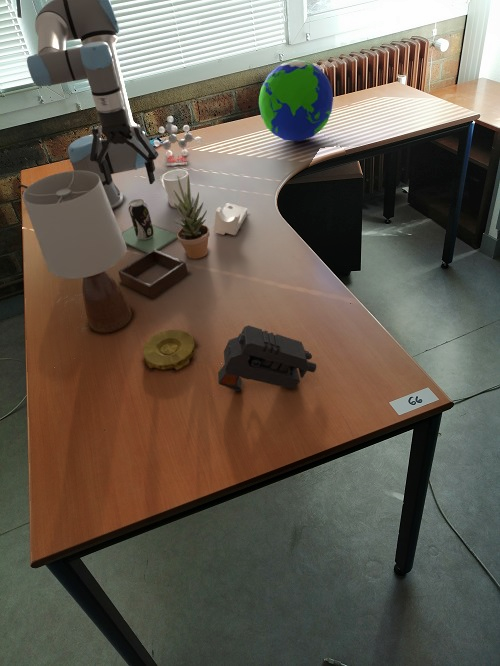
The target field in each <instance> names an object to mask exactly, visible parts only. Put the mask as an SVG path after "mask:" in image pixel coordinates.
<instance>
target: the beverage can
mask: <svg viewBox="0 0 500 666" xmlns="http://www.w3.org/2000/svg"><path fill="white" fill-rule="evenodd" d="M128 213H129V216H130V219H131V222H132V227H134V229H135V233H136V236H137V238H138V239H141V240H147V239H150V238H151V237H152V236H153V235H154V230H153V226H154V225H153V223H152V219H151V214H150V211H149V207H148V204H147V203H146V202H145V200H144V199H142V198H138V199H133V200H131V201H130V202H129V206H128Z"/></svg>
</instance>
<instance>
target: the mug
mask: <svg viewBox="0 0 500 666" xmlns="http://www.w3.org/2000/svg"><path fill="white" fill-rule="evenodd" d="M188 175H189V173H188V171H187V170H186V169H180V168H179V169H178V168H177V169H171V170H168V171H166V172H165V173H164V174H161V175H160V176H159V181H160V184H161V187H162V189H163V191H164V193H165V194H166V195H167V199H168V203H169V206H170V207H171V208H175V209H177V208H176V206H175V205H174V203H175V204H176V205H177V206H178V205H179V204H180V203H179V201H178V199H177V197H176V195H175V193H174V190H175V192H176V193H177V195H178V196H179V198H180V199H181V200H182V202H183V203H184V201H183V197H182V194H181V190H180V187H179V182H178V176H179V180H180V183H181V186H182V190H183V193H184V196H185V193H186V194H187V182H188ZM190 192H191V193H192V190H191V189H190ZM191 201H192V202H193V197H192V196H191ZM179 207H180V206H179Z"/></svg>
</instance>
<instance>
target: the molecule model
mask: <svg viewBox="0 0 500 666" xmlns="http://www.w3.org/2000/svg"><path fill="white" fill-rule="evenodd" d="M166 120H167V122H168V123H166V125H165V127H164V126H159V127H158V132H159V133H160V134H164V133H165V132H167V133H170V134H169V135H168V140H164V141H163V142H160V141H159V140H158V139H155V140H154V141H153V146H154V147H157V148H158V147H159V146H160V145H161V146H162V148H163V149H164V150H167V151H166V152H165V155H166V156H167V162H166V166H168V167H170V166H171V167H175V166H177V165H179V166H182V165H184V166H187V165H188V162H187V157H185V156H187V155H188V153H189V151H188V150H187V149H185V148H186V147H187V143H191V142H192V141H193V140H194V141H195V143H196V144H200V143H201V142H202V137H200V136H196V137H193V134H192V133H190V126H189V125H188V124H185V125H183V127H182V130H183V131H184V132H185V134H184V137H183V138H184V139H183V138H182V139H178V137H177V135H176V134H175V133H177V132H178V127H177V126H176V125H174V124H173V122H174V117H173V116H172V115H168V116H167V118H166ZM175 143H177V146H178V147H179V149H182V150H181V154H182V156H181V157H180V155H177V157H176V158H175V157H174V156H172V155H173V152H172V151H171V150H170V149H171V146H172V144H175ZM179 161H180V162H179Z"/></svg>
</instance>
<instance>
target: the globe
mask: <svg viewBox="0 0 500 666" xmlns="http://www.w3.org/2000/svg"><path fill="white" fill-rule="evenodd" d="M333 95H334V94H333V88H332V85H331V82H330V80H329V78H328V77H327V75H326V74H325V73H324V72H323V70H321V68H319V67H318V66H316V65H314V64H313V63H312V62H310V61H308V60H301V59H294V60H293V59H292V60H288V61H287V60H286V61H285V62H283V63H280V64H279V65H278V66H276V68H274V69H273V70H272V71H271V72H269V73H268V75H267V77H266V78H265V79H264V82H263V83H262V86H261V88H260V92H259V96H258V107H259V111H260V116H261V117H260V118H261V119H262V121H263V123H264V125H265V127H266V129H268V131H269V132H271V133H272V134H273V135H274V136H276V137H278V138H279V139H282V140H284V141H289V142H302V141H305V140H307V139H310V138H313V137H315V136H316V135H317V134H318V133H319V132H321V131H322V130H323V129H324V127H325V126H326V125H327V123H328V121H329V119H330V116H331V114H332V111H333V104H334V96H333Z"/></svg>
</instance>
